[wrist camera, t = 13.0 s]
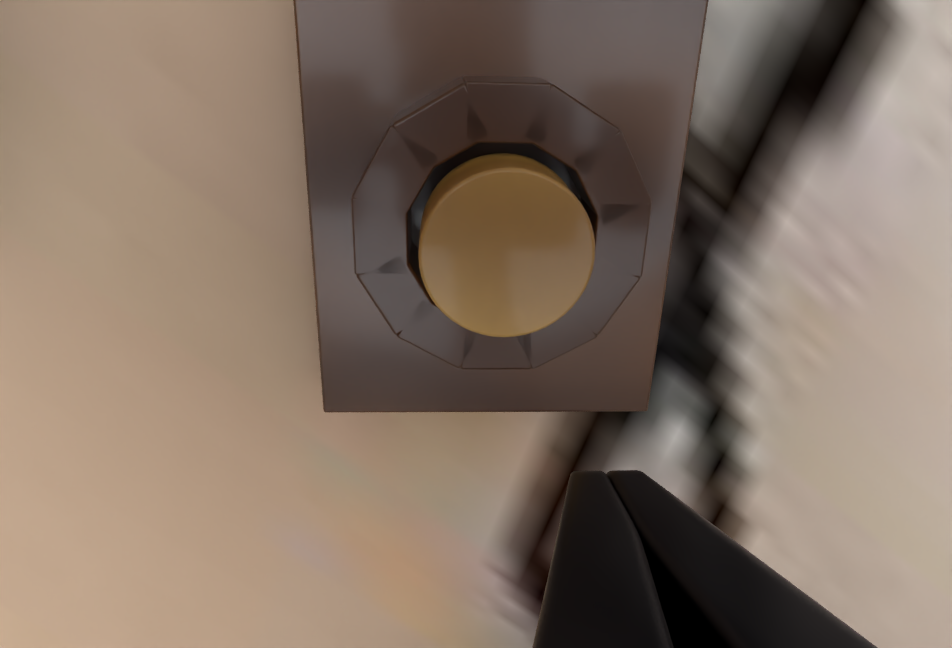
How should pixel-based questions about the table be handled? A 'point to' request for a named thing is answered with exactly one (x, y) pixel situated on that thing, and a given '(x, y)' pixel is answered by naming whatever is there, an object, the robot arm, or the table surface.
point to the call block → (481, 133)
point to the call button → (505, 246)
